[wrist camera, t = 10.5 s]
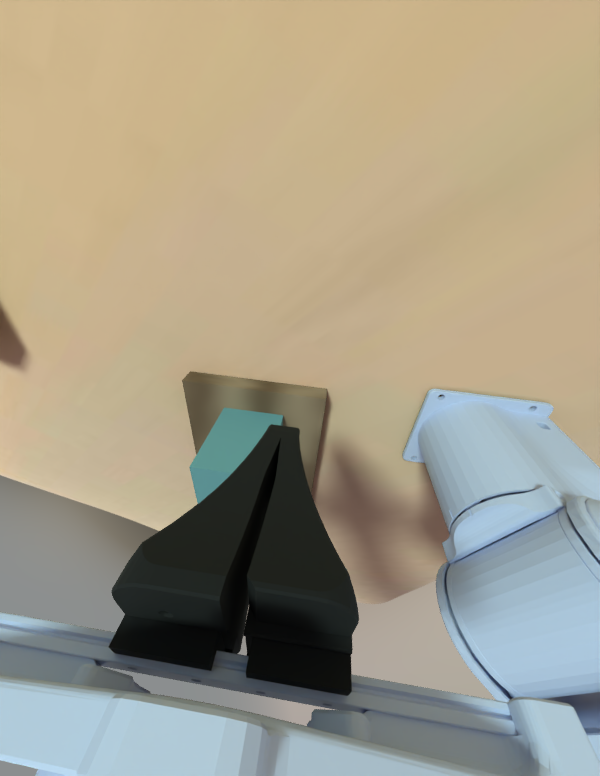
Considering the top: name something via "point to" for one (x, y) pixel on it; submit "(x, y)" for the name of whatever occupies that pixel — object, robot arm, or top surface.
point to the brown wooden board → (257, 408)
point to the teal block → (228, 447)
